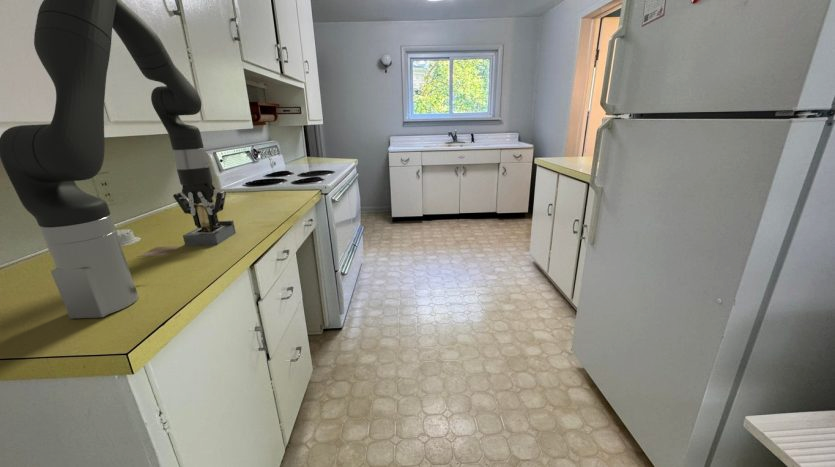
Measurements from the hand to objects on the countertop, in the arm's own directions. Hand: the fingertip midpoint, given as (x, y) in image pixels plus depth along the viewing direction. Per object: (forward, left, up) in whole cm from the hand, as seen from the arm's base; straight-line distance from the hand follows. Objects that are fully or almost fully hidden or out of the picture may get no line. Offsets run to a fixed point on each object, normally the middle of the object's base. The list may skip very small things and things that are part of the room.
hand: (207, 226), depth 97 cm
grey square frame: (0, 0, -5) cm, 5 cm away
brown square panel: (-8, +9, -5) cm, 13 cm away
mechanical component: (0, +27, -5) cm, 27 cm away
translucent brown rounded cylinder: (0, 0, -2) cm, 2 cm away
